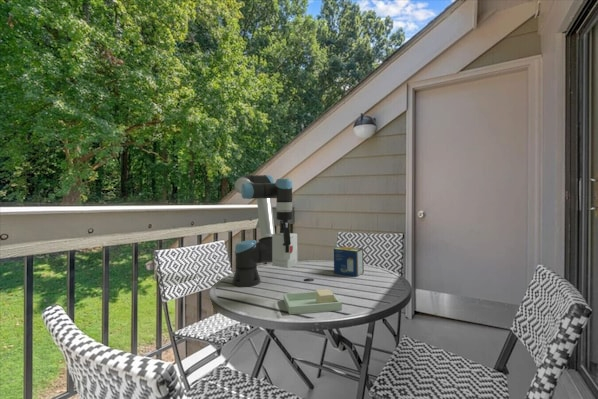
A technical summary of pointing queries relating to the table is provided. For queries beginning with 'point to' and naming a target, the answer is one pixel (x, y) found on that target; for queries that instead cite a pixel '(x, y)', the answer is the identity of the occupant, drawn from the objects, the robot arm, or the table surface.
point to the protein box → (348, 261)
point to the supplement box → (279, 250)
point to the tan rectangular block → (324, 296)
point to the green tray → (308, 303)
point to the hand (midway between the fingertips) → (285, 256)
